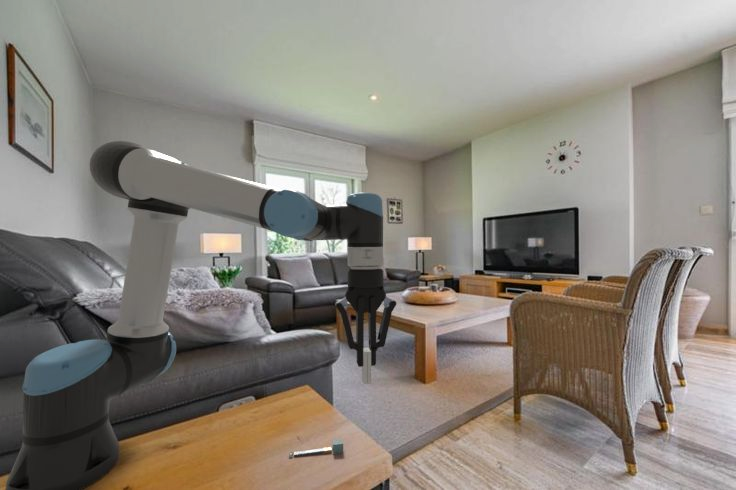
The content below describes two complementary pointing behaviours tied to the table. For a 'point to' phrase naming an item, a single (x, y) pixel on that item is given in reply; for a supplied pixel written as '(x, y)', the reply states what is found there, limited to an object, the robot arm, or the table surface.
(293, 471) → the table surface
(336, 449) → the teal matte cube
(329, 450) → the bar
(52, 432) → the robot arm
